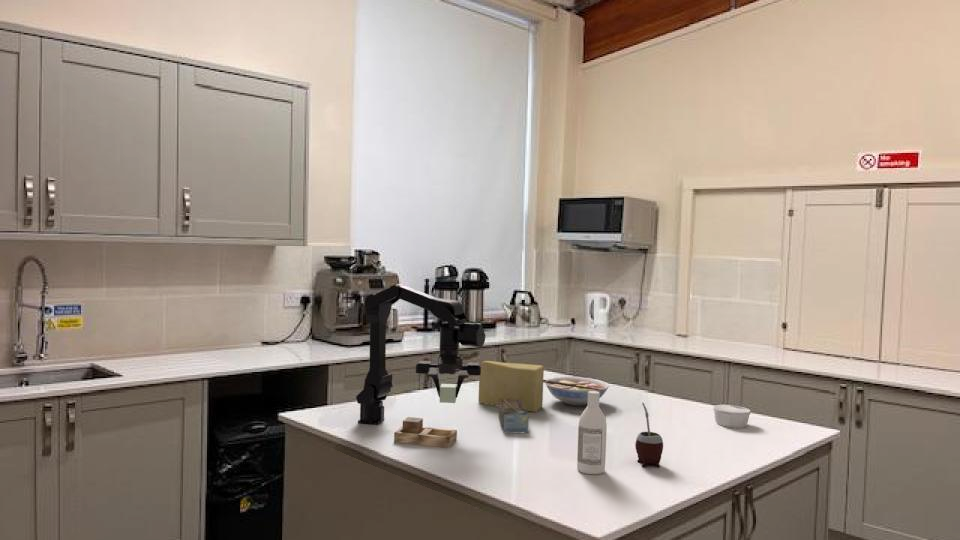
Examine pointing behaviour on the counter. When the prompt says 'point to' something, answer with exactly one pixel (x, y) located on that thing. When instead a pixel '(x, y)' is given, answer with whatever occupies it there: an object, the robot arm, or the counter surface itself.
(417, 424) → the walnut cube
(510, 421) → the beverage carton
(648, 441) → the mate gourd
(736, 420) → the ramekin
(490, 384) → the cheese
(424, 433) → the box
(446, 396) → the sage cube
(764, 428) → the counter surface
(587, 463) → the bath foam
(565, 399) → the ramen bowl
